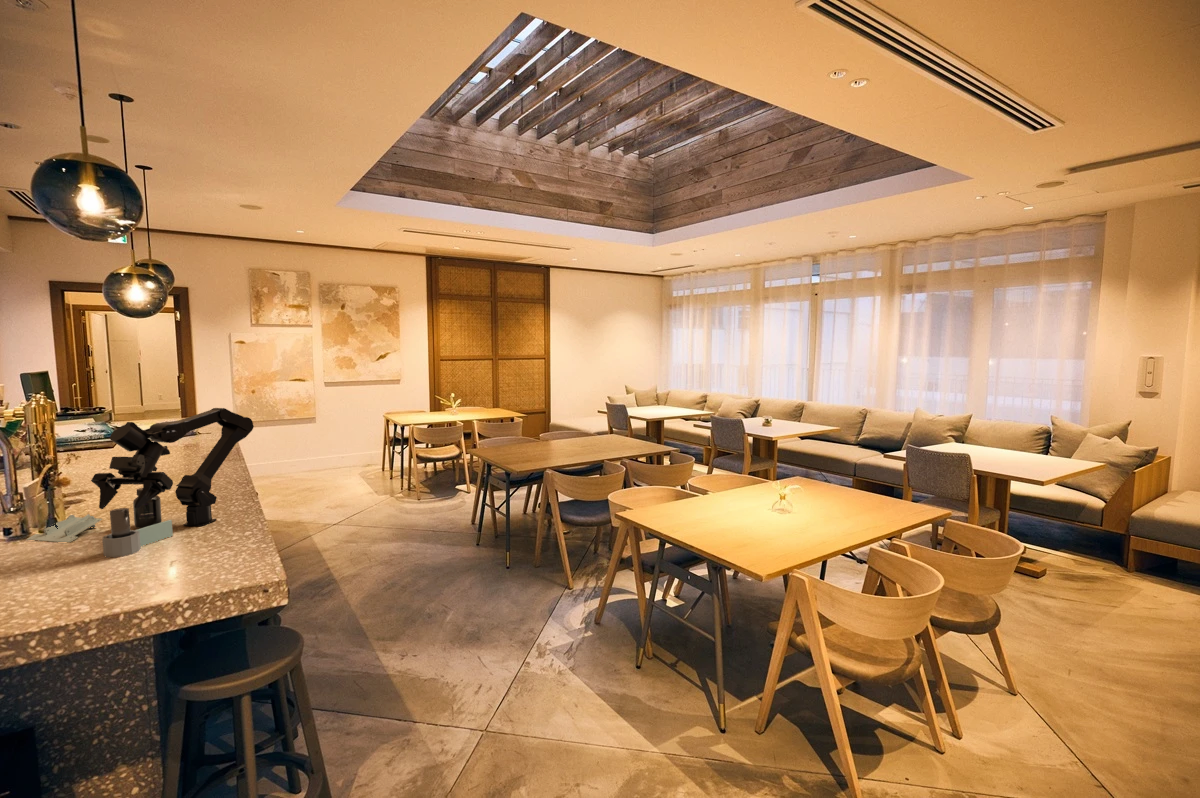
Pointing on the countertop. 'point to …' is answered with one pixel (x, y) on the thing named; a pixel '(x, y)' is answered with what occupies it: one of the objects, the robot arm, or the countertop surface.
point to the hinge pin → (120, 523)
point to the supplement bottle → (147, 512)
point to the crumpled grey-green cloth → (66, 529)
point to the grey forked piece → (136, 539)
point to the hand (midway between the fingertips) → (118, 508)
